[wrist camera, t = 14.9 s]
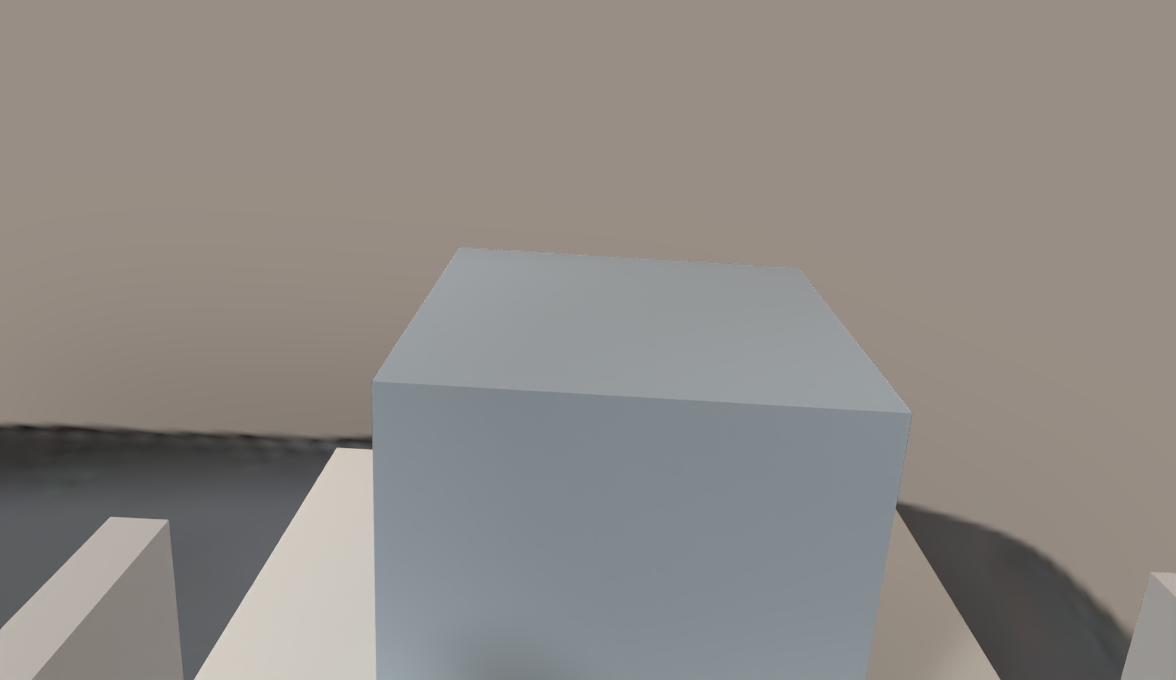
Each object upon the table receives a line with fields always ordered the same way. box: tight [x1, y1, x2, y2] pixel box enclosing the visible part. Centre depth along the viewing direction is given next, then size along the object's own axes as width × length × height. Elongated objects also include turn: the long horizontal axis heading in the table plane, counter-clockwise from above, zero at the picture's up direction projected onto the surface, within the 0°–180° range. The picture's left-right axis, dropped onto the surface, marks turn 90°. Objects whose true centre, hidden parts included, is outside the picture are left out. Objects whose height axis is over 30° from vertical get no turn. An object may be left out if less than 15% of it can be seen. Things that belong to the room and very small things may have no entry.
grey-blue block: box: [372, 247, 912, 680], centre depth 22 cm, size 10×9×10 cm
